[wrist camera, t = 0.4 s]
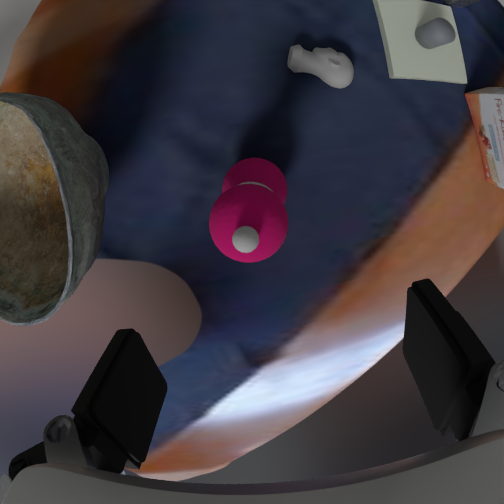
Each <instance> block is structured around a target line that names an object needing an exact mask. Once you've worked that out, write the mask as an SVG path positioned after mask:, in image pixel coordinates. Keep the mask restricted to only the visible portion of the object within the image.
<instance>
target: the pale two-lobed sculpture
mask: <svg viewBox="0 0 504 504" xmlns="http://www.w3.org/2000/svg"><path fill="white" fill-rule="evenodd" d="M288 67H289V68H290V69H291V70H292V71H293V72H294V73H297V72H306V73H311V74H314V75H316V76H318V77H319V78H320V79H321V80H323V81H324V82H325V83H327V84H328V85H330V86H332V87H335V88H345V87H347V86H348V85H349V84H350V83H351V81H352V79H353V75H354V69H353V65H352V63H351V61H350V59H349V58H348V57H347V56H346V55H345V54H343V53H337V52H336V51H335V50H333V49H332V48H318V47H316V48H314V49H313V51H312V52H310V51H307V50H304V49H303V48H302V47H301V45H295V46H291V48H290V51H289V56H288Z"/></svg>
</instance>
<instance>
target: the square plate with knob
mask: <svg viewBox="0 0 504 504" xmlns="http://www.w3.org/2000/svg"><path fill="white" fill-rule="evenodd" d="M373 3H374V7H375V11H376V15H377V18H378V23H379V27H380V31H381V35H382V40H383V45H384V49H385V55H386V60H387V65H388V71H389V77H390V78H401V79H419V80H432V81H442V82H451V83H459V84H466V83H467V78H466V71H465V65H464V60H463V55H462V50H461V45H460V41H459V36H458V32H457V28H456V24H455V20H454V17H453V13H452V10H451V7H450V6H446V5H441V4H437V3H432V2H427V1H422V0H373Z"/></svg>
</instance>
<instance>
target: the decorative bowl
mask: <svg viewBox="0 0 504 504" xmlns="http://www.w3.org/2000/svg"><path fill="white" fill-rule="evenodd" d="M108 186H109V169H108V164H107V160H106V157H105V154H104V152H103V150H102V148H101V147H100V145H99V144H98V143H97V142H96V141H95V140H94V139H93V138H92V137H90V136H89V135H87V134H86V133H84V131H83V130H82V128H81V127H80V125H79V124H78V122H77V121H76V120H75V119H74V118H73V116H72V115H71V114H70V112H69V111H68V110H67V109H65V108H64V107H62V106H61V105H59V104H58V103H57V102H55V101H53V100H51V99H49V98H46V97H41V96H36V95H31V94H25V93H9V92H4V93H0V319H1V320H3V321H5V322H7V323H9V324H14V325H18V326H29V325H34V324H37V323H41V322H44V321H46V320H47V319H48V318H50V317H51V316H52V315H53V314H54V313H55V312H56V311H57V310H58V309H59V307H60V305H61V304H62V303H63V302H65V301H66V300H67V299H68V298H69V297H70V296H71V295H72V294H73V292H74V291H75V290H76V289H77V287H78V285H79V283H80V281H81V280H82V278H83V276H84V275H85V274H86V272H87V271H88V270H89V269H90V268H91V266H92V264H93V263H94V261H95V259H96V257H97V255H98V252H99V250H100V245H101V240H102V235H103V222H104V210H105V195H106V192H107V189H108Z"/></svg>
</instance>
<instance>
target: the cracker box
mask: <svg viewBox="0 0 504 504" xmlns="http://www.w3.org/2000/svg"><path fill="white" fill-rule="evenodd" d="M465 97H466V100H467V103H468V106H469V109H470V113H471V116H472V119H473V123H474V127H475V131H476V134H477V138H478V143H479V147H480V151H481V156H482V161H483V166H484V172H485V177H486V181H487V182H490V183H492V184H494V185H496V186H498V187H500V188H503V189H504V87H486V88H482V89H478V90H475V91H471V92H468V93H465Z"/></svg>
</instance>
